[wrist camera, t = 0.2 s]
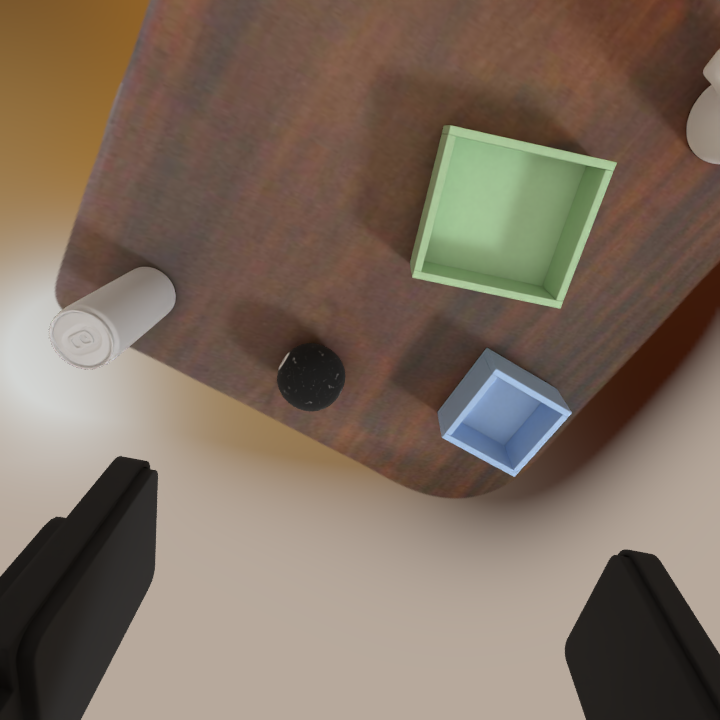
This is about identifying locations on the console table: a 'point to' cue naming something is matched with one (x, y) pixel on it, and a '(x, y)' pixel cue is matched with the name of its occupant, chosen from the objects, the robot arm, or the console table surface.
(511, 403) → the bin
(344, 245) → the console table surface
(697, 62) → the console table surface
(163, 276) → the beverage can
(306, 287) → the console table surface
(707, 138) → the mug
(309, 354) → the billiard ball
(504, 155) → the ball bin
